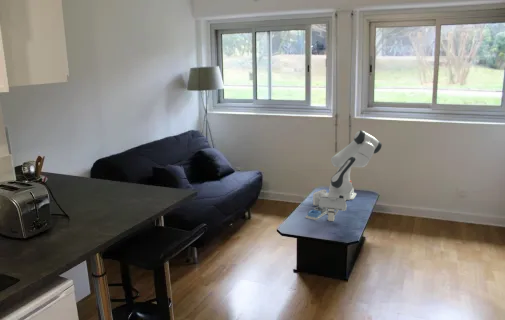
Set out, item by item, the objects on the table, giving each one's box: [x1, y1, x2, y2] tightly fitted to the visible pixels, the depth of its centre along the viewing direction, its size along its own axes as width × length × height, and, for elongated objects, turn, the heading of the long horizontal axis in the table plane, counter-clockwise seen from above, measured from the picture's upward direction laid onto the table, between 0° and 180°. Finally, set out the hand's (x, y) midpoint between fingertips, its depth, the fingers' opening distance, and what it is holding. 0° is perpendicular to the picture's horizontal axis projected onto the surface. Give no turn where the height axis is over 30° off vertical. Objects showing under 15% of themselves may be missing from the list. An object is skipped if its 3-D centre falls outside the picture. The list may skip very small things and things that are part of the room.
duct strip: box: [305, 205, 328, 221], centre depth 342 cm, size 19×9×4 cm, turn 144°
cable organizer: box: [312, 189, 329, 207], centre depth 361 cm, size 15×11×12 cm
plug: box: [327, 208, 336, 222], centre depth 331 cm, size 4×4×8 cm
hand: (331, 214), depth 330 cm, fingers closed on plug, 4 cm apart
